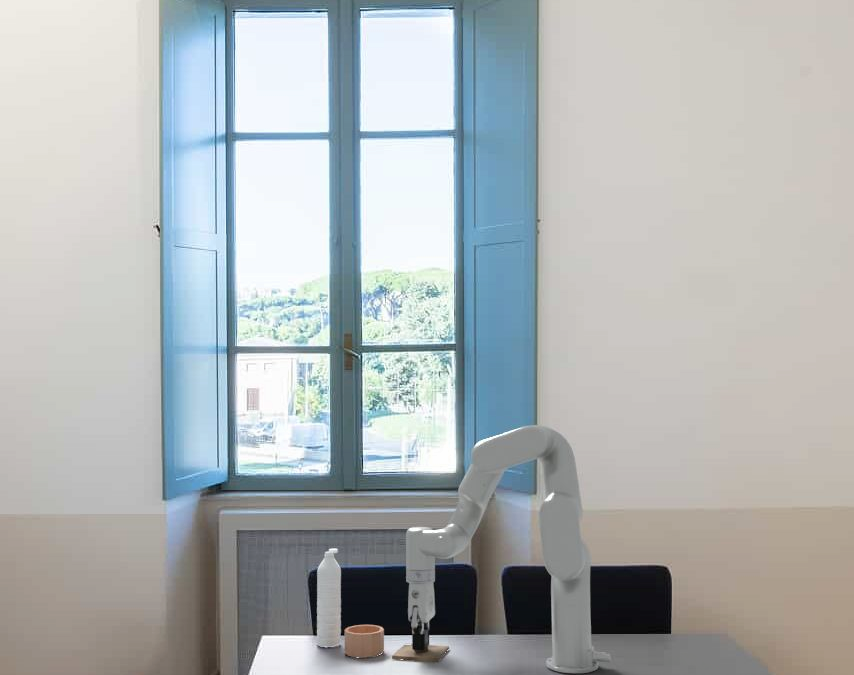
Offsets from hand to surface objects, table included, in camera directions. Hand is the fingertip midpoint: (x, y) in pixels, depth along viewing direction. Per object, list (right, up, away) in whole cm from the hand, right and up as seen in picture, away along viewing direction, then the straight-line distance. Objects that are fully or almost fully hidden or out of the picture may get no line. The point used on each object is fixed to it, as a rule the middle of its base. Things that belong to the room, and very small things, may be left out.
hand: (420, 646), depth 218 cm
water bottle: (-25, -3, +11) cm, 27 cm away
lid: (0, -2, 0) cm, 2 cm away
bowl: (-15, -2, +2) cm, 15 cm away
